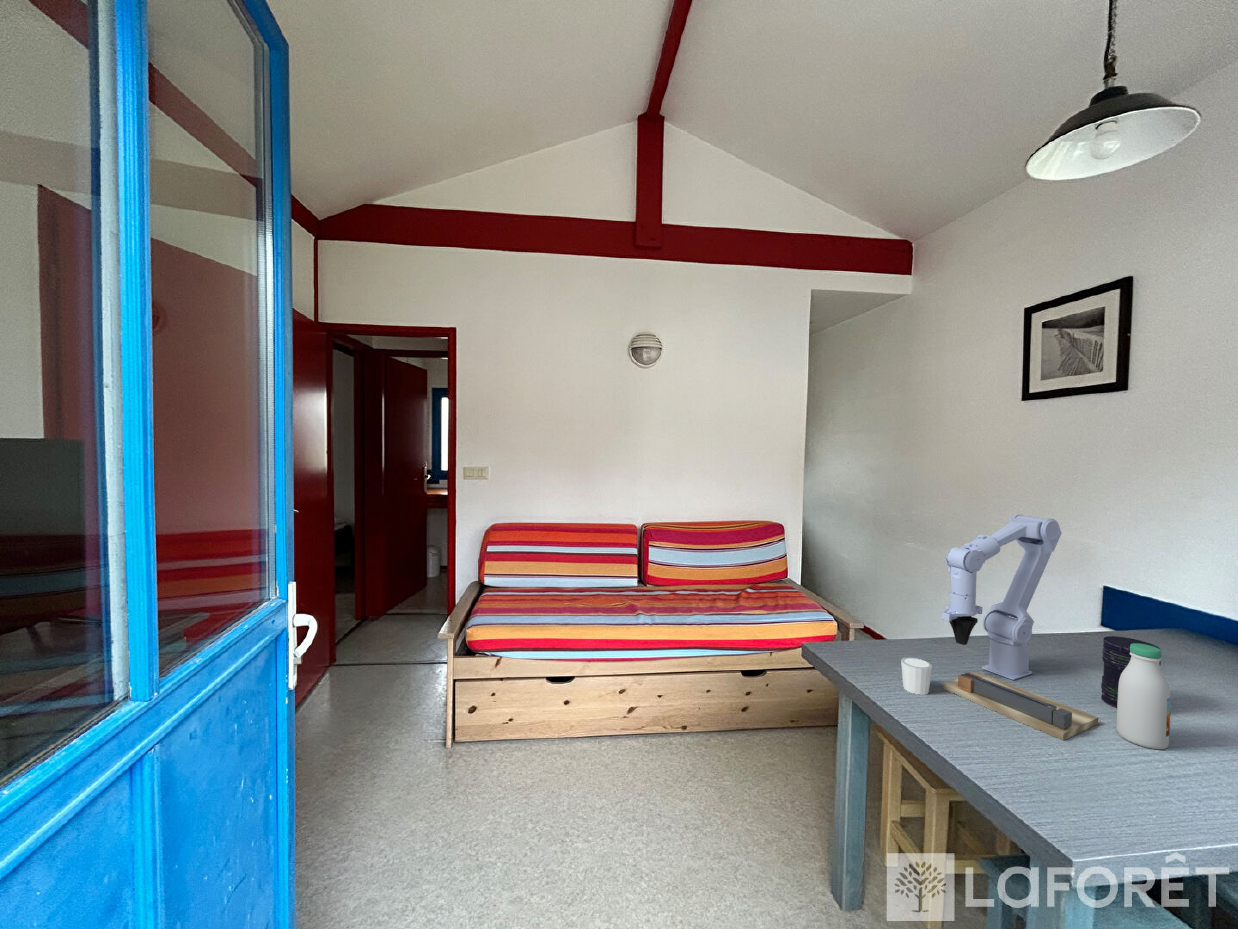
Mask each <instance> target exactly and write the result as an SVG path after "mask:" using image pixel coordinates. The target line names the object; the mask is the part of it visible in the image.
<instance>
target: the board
mask: <svg viewBox="0 0 1238 929" xmlns="http://www.w3.org/2000/svg"><path fill="white" fill-rule="evenodd" d="M974 674H976V675H979V676H981V677H982V678H983V679H985V680H988V681H991V682H993V683H996V684H999V685H1001V686H1004V687H1006V688H1009V689H1012V690H1014V691H1017V692H1019V693H1022V694H1025V695H1027V696H1030V697H1033V698H1035V699H1038V700H1040V701H1043V702H1046V703H1048V704H1052V705H1055V706H1056V707H1057V709H1060V708H1062V709H1065V710H1067V711H1070V712H1072V726H1070V727H1068V728H1066V729H1062V728H1059V727H1057V726H1054V725H1053V724H1049V723H1047V722H1045V721H1042V720H1040V719H1037V718H1035V717H1033V716H1030V715H1028V714H1025V713H1023V712H1020V711H1018V710H1016V709H1013V708H1011V707H1008V706H1006V705H1003V704H1001V703H999V702H996V701H994V700H991V699H989V698H986V697H984V696H982V695H979V694H977V693H974V692H968V691H966V690H964V689H961V688H959V687H958V678H956V679H953V680H951V681H948V682H947V681H946V682H943V690H944V691H946V692H949V693H952V694H953V693H955V694H954V695H956V694H957V695H956V696H958V695H959V697H960V696H961V698H963V699H965V700H967V699H969V700H968V701H970V700H971V701H970V702H972V701H973V702H972V703H974V702H975V703H974V704H977V705H979V706H981V705H982V706H981V707H984V706H985V707H984V708H986V707H987V709H988V710H991V711H993V712H995V711H997V712H996V713H998V712H999V713H998V714H1001V715H1002V714H1003V716H1005V717H1007V718H1010V719H1012V720H1014V719H1015V720H1014V721H1016V720H1017V721H1016V722H1019V723H1022V724H1024V725H1026V726H1028V725H1029V726H1028V727H1031V728H1033V729H1035V730H1038V731H1040V730H1041V731H1040V732H1042V731H1043V732H1042V733H1045V734H1047V735H1049V736H1051V737H1054V736H1055V737H1054V738H1056V737H1057V739H1058V738H1059V740H1061V741H1065V740H1067V739H1066V738H1068V739H1070V738H1071V737H1070V736H1072V737H1074V736H1076V735H1078V734H1081V733H1083V732H1084V731H1086V730H1089V729H1091V728H1093V727H1095V726H1097V725H1099V717H1098V716H1096V715H1093V714H1091V713H1088V712H1086V711H1082V710H1079V709H1077V708H1075V707H1072V706H1070V705H1067V704H1064V703H1060V702H1059V701H1056V700H1053V699H1050V698H1048V697H1045V696H1043V695H1039V694H1037V693H1035V692H1032V691H1030V690H1027V689H1024V688H1021V687H1018V686H1016V685H1013V684H1010V683H1008V682H1005V681H1003V680H1000V679H997V678H995V677H992V676H989V675H987V674H984V673H980V672H979V671H978V672H975V673H974ZM1083 730H1084V731H1083ZM1069 737H1070V738H1069Z"/></svg>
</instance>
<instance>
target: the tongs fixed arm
mask: <svg viewBox="0 0 1238 929" xmlns="http://www.w3.org/2000/svg"><path fill="white" fill-rule="evenodd" d="M957 679H958V687H959V688H961V689H964V690H966V691H968V692H974V693H977V694H979V695H982V696H984V697H986V698H989V699H991V700H994V701H996V702H999V703H1001V704H1003V705H1006V706H1008V707H1011V708H1013V709H1016V710H1018V711H1020V712H1023V713H1025V714H1028V715H1030V716H1033V717H1035V718H1037V719H1040V720H1042V721H1045V722H1047V723H1049V724H1053V725H1054V726H1057V727H1059V728H1062V729H1066V728H1068V727H1070V726H1072V712H1070V711H1067V710H1065V709H1062V708H1060V709H1057V710H1055V709H1052V708H1050V707H1047V706H1044V705H1042V704H1039V703H1037V702H1034V701H1032V700H1029V699H1026V698H1024V697H1021V696H1019V695H1016V694H1014V693H1011V692H1008V691H1006V690H1003V689H1001V688H998V687H996V686H993V685H990V684H988V683H985V682H983V681H980V680H978V679H975V678H972V677H970V676H967V675H965V674H964V673H962V674H958V675H957Z"/></svg>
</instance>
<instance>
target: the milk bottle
mask: <svg viewBox="0 0 1238 929" xmlns="http://www.w3.org/2000/svg"><path fill="white" fill-rule="evenodd" d="M1160 649H1161V648H1160ZM1160 649H1158V648H1156V647H1153V646H1150V645H1145V644H1138V643H1133V644H1131V645H1130V655H1131V660H1130V662H1129V664H1128V665H1127V667H1126V668H1125V669H1124V670H1123V672H1122V674H1121V676H1120V679H1119V686H1118V703H1117V708H1116V709H1117V710H1116V733H1117V734H1118V735H1119V736H1120V737H1121V738H1122V739H1124V740H1125V741H1127V742H1130V743H1132V744H1134V745H1138V746H1140V747H1143V748H1148V749H1151V750H1152V749H1153V750H1166V749H1167V748H1168V747H1169V744H1170V728H1171V724H1170V723H1171V688H1170V686H1169V683H1168V681H1167V679H1166V677H1165V676H1164V673H1163V671H1162V668H1161V665H1160V664H1159V661H1161V662H1162V649H1161V650H1160Z"/></svg>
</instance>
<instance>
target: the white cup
mask: <svg viewBox="0 0 1238 929" xmlns="http://www.w3.org/2000/svg"><path fill="white" fill-rule="evenodd" d="M900 664H901V665H900V666H901V675H902V676H901V677H902V678H901V679H902V687H904V688H903V689H904V690H905V691H906V690H907V691H906V692H908V693H910V694H913V693H915V695H918V694H920V695H921V696H924V695H925V694H926V695H928V694H929V693H930V686H931V678H932V671H933V665H932V664H931V663H930V662H929V661H927V660H924V659H921V658H917V657H902V658H901V659H900ZM920 695H919V696H920Z"/></svg>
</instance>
